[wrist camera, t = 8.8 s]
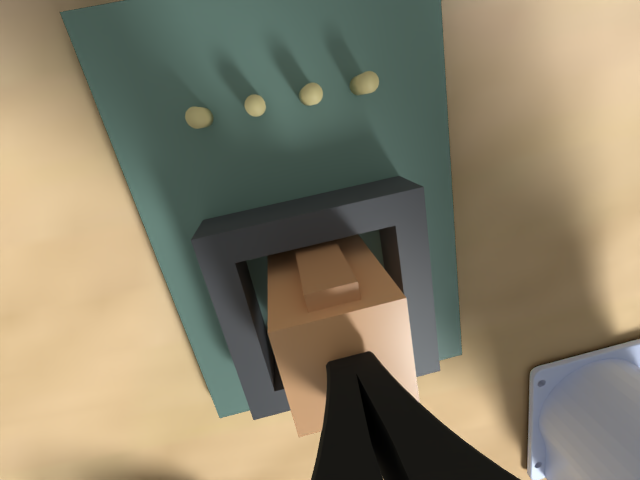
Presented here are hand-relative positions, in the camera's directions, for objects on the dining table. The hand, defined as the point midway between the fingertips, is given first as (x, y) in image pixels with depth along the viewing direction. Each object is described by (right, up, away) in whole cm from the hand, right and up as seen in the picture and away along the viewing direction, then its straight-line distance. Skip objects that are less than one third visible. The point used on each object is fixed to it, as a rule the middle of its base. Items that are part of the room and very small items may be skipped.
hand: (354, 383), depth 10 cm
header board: (-2, +5, +6) cm, 8 cm away
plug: (-1, +2, +6) cm, 6 cm away
